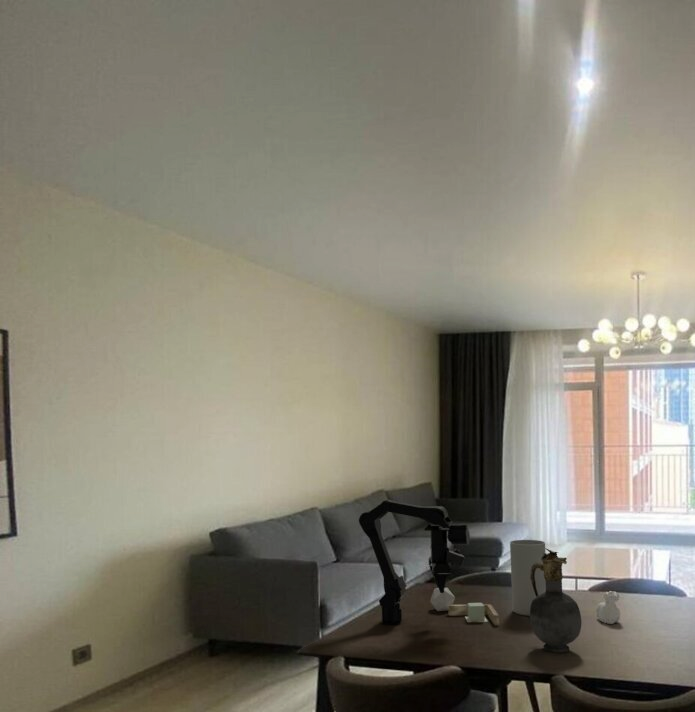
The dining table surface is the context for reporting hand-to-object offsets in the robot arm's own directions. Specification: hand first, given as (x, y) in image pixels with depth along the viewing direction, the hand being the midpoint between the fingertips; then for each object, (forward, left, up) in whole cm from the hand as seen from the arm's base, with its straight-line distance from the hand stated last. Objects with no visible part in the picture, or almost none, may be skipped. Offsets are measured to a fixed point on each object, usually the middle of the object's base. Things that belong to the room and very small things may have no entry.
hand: (440, 590), depth 267 cm
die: (+3, +23, -12) cm, 26 cm away
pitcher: (+31, -28, -12) cm, 44 cm away
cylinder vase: (+34, +17, -12) cm, 40 cm away
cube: (+13, +7, -12) cm, 19 cm away
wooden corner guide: (+12, +8, -12) cm, 19 cm away
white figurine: (+58, +2, -12) cm, 59 cm away
